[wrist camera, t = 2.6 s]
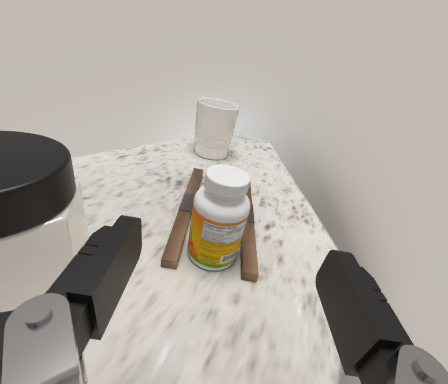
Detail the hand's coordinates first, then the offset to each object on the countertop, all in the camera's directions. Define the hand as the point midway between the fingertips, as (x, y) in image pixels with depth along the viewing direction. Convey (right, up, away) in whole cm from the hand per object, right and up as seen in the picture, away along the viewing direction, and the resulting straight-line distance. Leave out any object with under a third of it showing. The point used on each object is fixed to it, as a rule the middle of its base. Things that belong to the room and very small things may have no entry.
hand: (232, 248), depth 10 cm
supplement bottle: (-2, -4, +16) cm, 17 cm away
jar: (-15, -6, +9) cm, 19 cm away
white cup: (-3, +10, +39) cm, 40 cm away
